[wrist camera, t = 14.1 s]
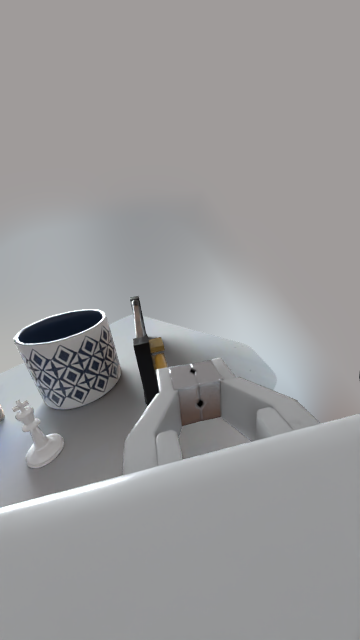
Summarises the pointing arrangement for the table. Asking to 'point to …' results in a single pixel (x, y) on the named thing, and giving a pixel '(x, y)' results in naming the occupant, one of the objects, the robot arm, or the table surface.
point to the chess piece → (38, 438)
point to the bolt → (160, 361)
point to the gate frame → (147, 360)
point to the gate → (138, 319)
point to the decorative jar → (1, 413)
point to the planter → (70, 357)
